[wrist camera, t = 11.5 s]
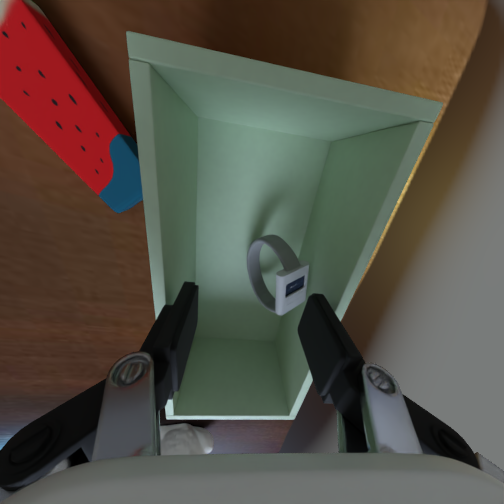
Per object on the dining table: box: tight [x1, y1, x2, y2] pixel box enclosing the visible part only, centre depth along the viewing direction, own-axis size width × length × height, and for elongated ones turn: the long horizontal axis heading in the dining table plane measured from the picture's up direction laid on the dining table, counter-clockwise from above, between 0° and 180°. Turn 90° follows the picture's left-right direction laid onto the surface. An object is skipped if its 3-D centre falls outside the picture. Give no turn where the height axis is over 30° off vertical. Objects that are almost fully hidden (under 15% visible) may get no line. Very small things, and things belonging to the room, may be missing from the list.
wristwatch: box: [247, 234, 309, 315], centre depth 14 cm, size 6×3×5 cm
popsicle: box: [0, 0, 143, 213], centre depth 10 cm, size 4×2×15 cm
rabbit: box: [160, 423, 214, 455], centre depth 24 cm, size 12×9×12 cm
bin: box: [126, 31, 443, 420], centre depth 14 cm, size 21×10×8 cm, turn 172°
